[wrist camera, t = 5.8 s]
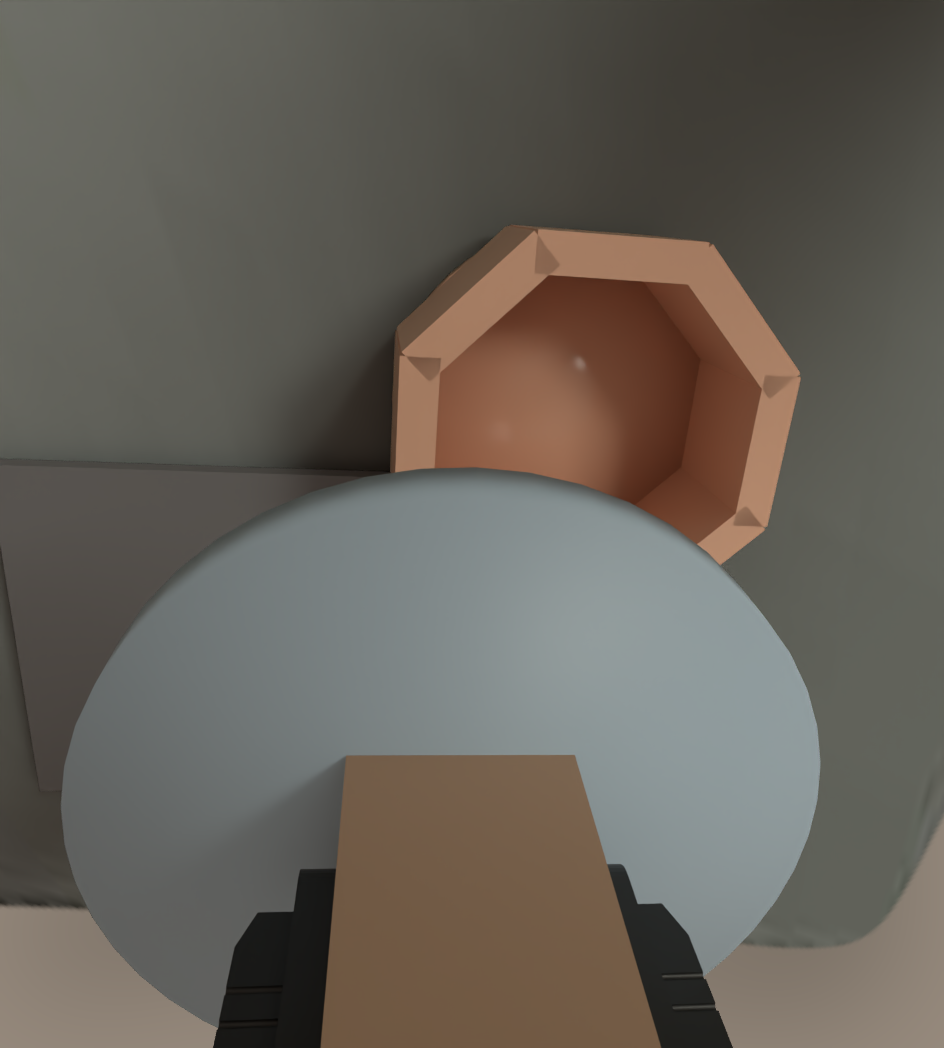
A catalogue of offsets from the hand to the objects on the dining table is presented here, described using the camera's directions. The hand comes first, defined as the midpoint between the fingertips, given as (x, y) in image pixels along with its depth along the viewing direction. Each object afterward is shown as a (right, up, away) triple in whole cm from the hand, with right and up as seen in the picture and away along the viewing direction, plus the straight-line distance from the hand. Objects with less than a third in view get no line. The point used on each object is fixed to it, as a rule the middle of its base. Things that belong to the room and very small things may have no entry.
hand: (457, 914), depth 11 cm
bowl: (+3, +9, +14) cm, 17 cm away
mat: (-9, +2, +16) cm, 18 cm away
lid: (0, +1, +1) cm, 2 cm away
